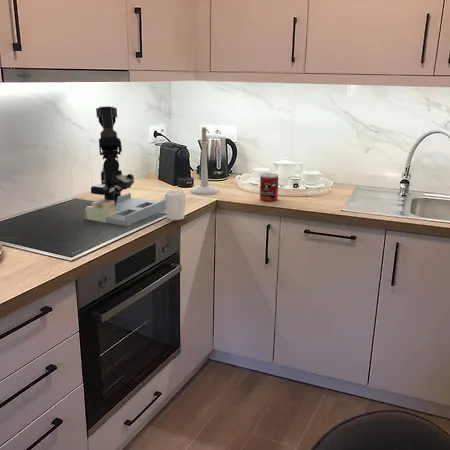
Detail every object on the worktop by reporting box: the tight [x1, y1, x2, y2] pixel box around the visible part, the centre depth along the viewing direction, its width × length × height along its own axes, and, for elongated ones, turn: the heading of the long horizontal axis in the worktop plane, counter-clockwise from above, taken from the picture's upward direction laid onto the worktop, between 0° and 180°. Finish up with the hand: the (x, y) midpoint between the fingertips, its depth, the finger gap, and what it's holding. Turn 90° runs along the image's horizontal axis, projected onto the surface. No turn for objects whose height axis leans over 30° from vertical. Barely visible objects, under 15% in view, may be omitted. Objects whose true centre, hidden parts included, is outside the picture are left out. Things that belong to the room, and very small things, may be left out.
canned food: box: [259, 172, 279, 202], centre depth 221 cm, size 8×8×11 cm
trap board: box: [84, 192, 166, 227], centre depth 202 cm, size 20×28×5 cm
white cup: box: [164, 189, 186, 221], centre depth 195 cm, size 8×8×10 cm
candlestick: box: [190, 126, 219, 196], centre depth 232 cm, size 13×13×30 cm
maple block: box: [91, 198, 115, 215], centre depth 195 cm, size 6×6×4 cm
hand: (113, 206), depth 201 cm, fingers closed
